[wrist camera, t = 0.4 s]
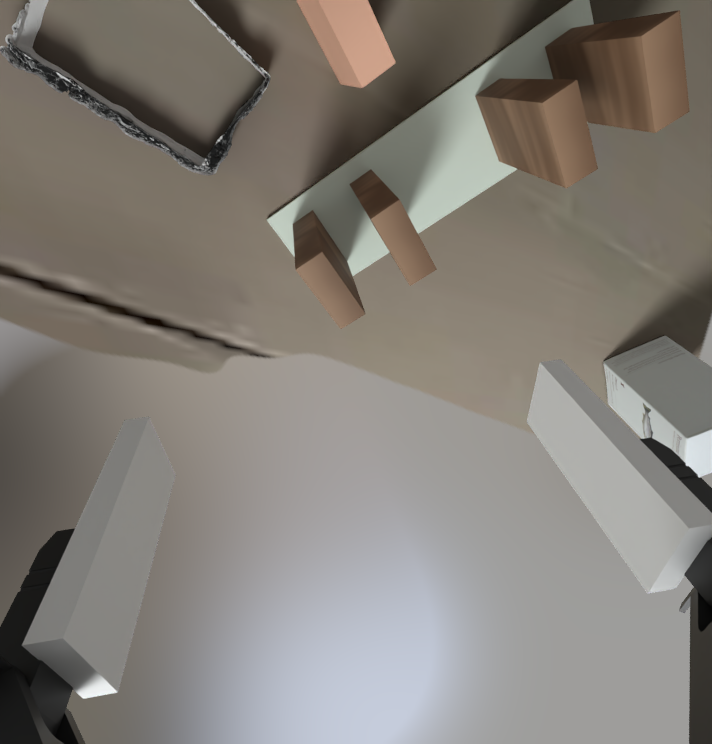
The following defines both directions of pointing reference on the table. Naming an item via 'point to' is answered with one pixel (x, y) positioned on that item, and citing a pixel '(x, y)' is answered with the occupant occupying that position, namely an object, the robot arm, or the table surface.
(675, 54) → the domino
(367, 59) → the domino
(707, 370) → the supplement box
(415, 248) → the domino
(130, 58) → the table surface
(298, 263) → the domino
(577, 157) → the domino
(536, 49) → the runner
